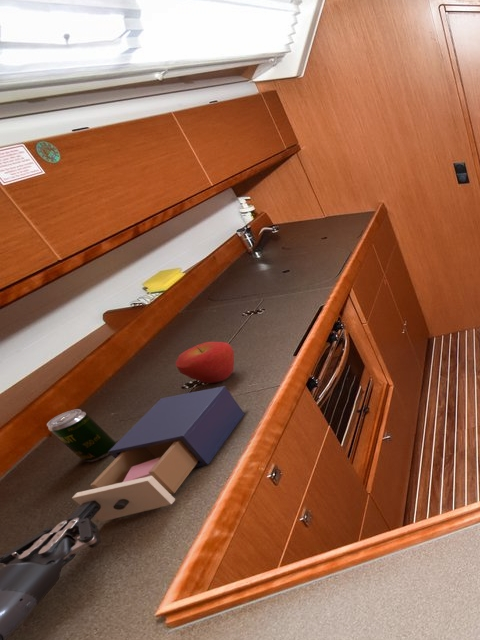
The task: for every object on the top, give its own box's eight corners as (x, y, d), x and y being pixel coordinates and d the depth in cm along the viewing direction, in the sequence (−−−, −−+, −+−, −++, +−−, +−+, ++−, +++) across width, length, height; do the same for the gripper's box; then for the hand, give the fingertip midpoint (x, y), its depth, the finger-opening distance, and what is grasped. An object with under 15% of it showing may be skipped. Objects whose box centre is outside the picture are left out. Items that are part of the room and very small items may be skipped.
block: (135, 496, 84) (121, 483, 81) (144, 479, 87) (131, 466, 85) (164, 485, 85) (152, 472, 83) (172, 470, 89) (160, 457, 87)
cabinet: (208, 464, 92) (182, 435, 87) (138, 480, 89) (107, 451, 84) (244, 413, 105) (224, 385, 101) (185, 425, 102) (161, 397, 98)
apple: (188, 398, 111) (161, 364, 105) (202, 375, 119) (178, 342, 113) (240, 383, 115) (217, 350, 109) (250, 362, 124) (229, 330, 118)
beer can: (102, 444, 98) (66, 409, 92) (125, 442, 98) (90, 407, 92) (76, 463, 93) (36, 428, 87) (100, 462, 94) (62, 426, 88)
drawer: (167, 510, 82) (143, 486, 78) (94, 527, 79) (65, 504, 75) (214, 447, 95) (194, 424, 91) (153, 460, 92) (130, 437, 89)
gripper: (35, 580, 63) (123, 482, 77) (-82, 610, 60) (32, 502, 74) (70, 603, 67) (148, 505, 81) (-38, 632, 63) (62, 525, 78)
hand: (92, 503), depth 78 cm, fingers closed
